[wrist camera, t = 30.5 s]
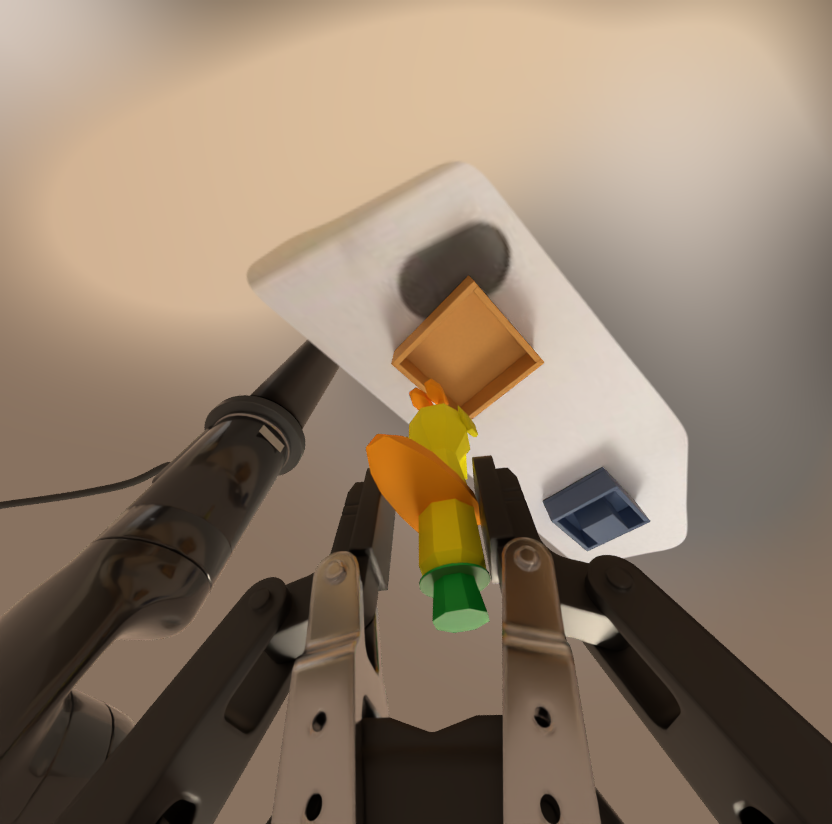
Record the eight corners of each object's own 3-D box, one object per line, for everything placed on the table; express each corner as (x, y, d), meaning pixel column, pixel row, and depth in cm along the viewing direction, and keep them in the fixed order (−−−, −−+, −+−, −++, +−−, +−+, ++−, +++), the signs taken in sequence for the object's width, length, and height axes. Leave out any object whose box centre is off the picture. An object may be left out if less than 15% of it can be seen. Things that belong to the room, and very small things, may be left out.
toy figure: (369, 367, 17) (298, 571, 7) (420, 331, 16) (426, 506, 6) (435, 445, 20) (455, 671, 10) (482, 418, 19) (561, 640, 9)
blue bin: (542, 501, 45) (551, 521, 42) (602, 466, 41) (616, 485, 38) (576, 531, 49) (587, 551, 45) (635, 501, 45) (650, 521, 42)
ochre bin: (394, 351, 34) (391, 363, 30) (468, 275, 29) (473, 280, 26) (459, 410, 37) (462, 426, 34) (533, 350, 33) (544, 362, 30)
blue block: (568, 504, 45) (582, 529, 41) (596, 488, 43) (613, 514, 39) (584, 518, 46) (599, 544, 42) (612, 504, 44) (629, 529, 41)
